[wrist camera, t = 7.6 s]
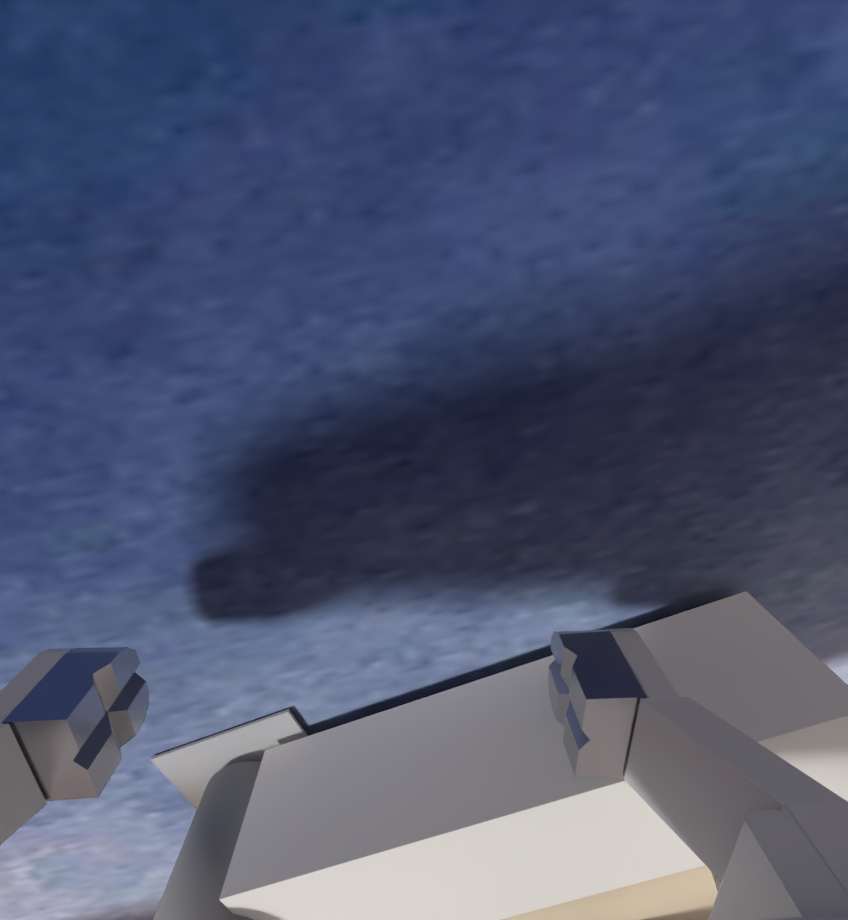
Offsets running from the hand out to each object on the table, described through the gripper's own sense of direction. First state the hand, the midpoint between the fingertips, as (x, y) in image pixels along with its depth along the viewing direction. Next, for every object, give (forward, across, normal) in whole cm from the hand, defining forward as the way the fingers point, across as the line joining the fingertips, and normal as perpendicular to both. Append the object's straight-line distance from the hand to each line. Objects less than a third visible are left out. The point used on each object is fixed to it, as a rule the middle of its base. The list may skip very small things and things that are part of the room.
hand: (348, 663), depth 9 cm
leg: (+1, -3, +4) cm, 5 cm away
